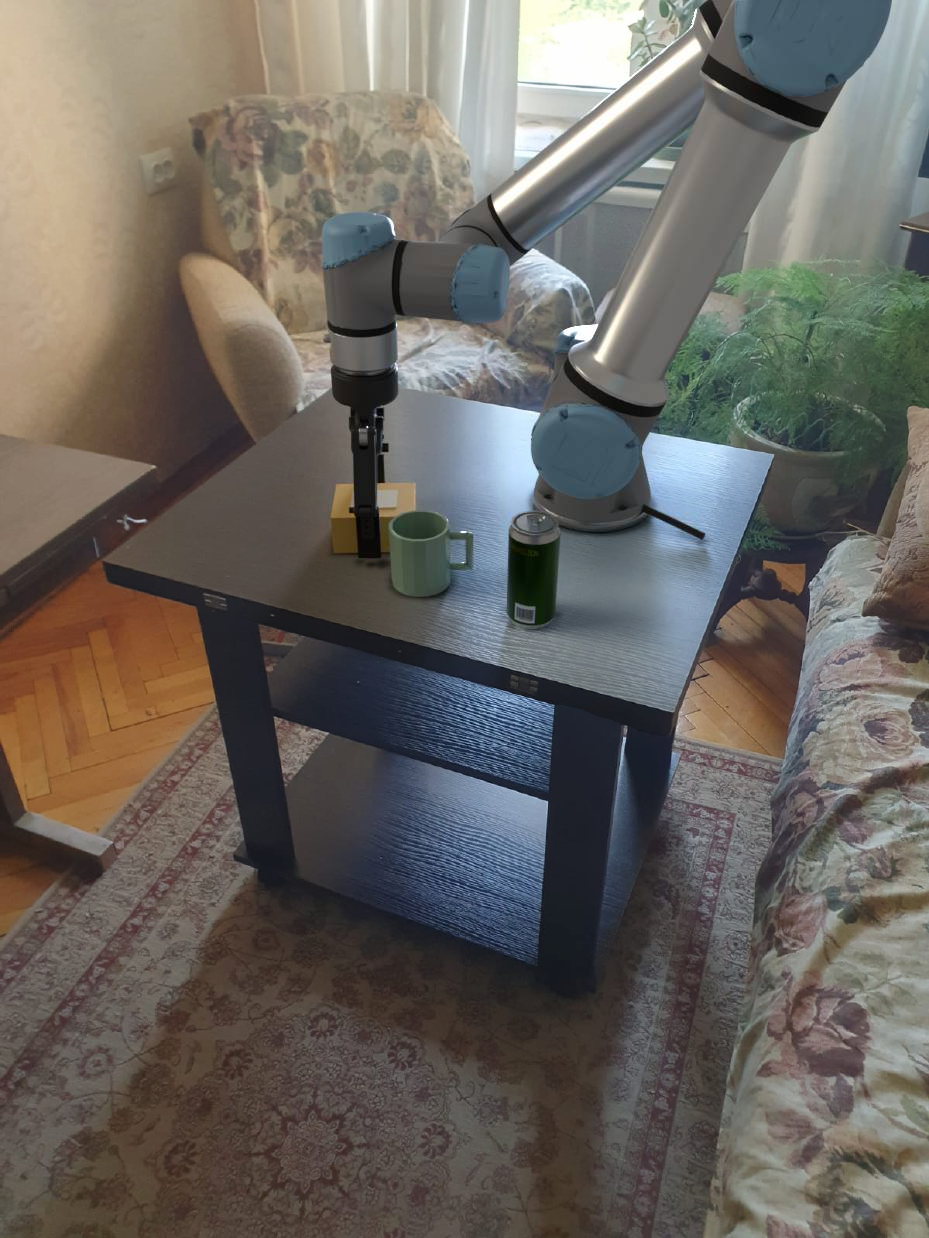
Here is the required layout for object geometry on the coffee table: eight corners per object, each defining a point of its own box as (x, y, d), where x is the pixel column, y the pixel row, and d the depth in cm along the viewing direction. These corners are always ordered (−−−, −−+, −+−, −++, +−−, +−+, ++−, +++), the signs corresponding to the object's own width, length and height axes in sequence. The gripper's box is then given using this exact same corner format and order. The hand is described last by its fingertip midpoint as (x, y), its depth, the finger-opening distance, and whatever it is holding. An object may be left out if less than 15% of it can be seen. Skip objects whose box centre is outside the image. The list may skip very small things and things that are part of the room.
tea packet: (416, 516, 121) (415, 481, 118) (416, 551, 114) (414, 515, 111) (339, 518, 121) (336, 483, 118) (334, 553, 114) (330, 517, 111)
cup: (391, 598, 106) (387, 541, 102) (393, 565, 112) (389, 510, 107) (474, 596, 107) (474, 539, 102) (472, 563, 112) (472, 509, 108)
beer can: (552, 633, 101) (558, 538, 94) (503, 628, 101) (505, 533, 94) (557, 604, 105) (563, 511, 98) (509, 600, 106) (512, 507, 99)
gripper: (339, 325, 114) (349, 480, 127) (319, 410, 94) (334, 583, 107) (400, 325, 115) (404, 480, 127) (394, 410, 95) (400, 583, 107)
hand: (372, 527), depth 117 cm, fingers open, 13 cm apart
